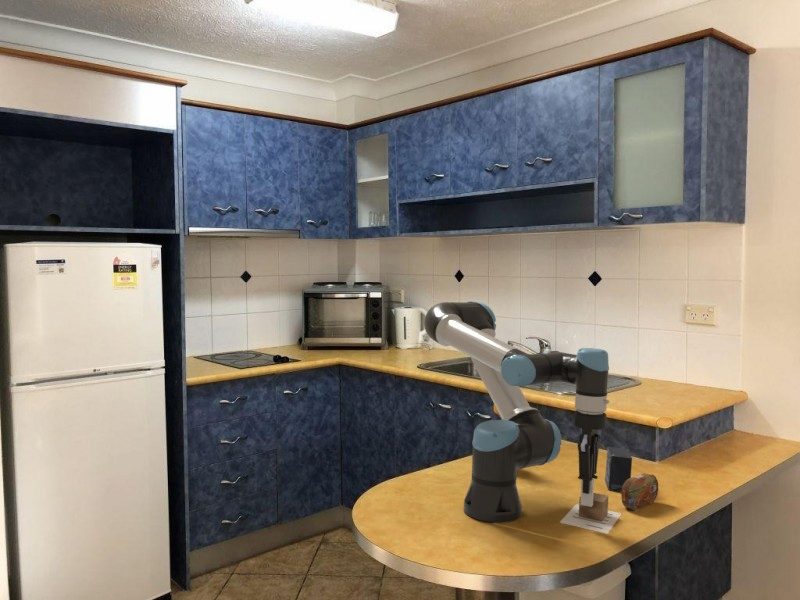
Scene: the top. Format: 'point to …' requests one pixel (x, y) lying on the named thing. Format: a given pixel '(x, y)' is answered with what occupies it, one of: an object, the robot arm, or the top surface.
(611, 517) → the letter
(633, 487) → the tin
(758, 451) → the top surface
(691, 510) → the top surface
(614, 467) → the small box
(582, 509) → the walnut block
